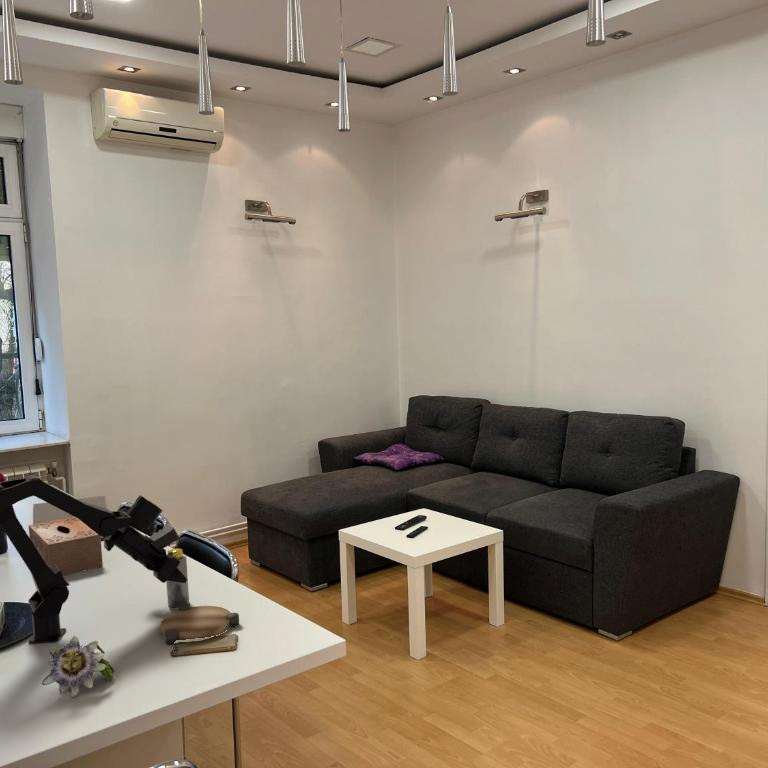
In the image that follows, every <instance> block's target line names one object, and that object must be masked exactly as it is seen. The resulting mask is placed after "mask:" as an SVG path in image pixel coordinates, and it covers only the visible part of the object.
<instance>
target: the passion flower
mask: <svg viewBox="0 0 768 768" xmlns="http://www.w3.org/2000/svg"><path fill="white" fill-rule="evenodd" d="M80 643H81V642H80V639H79V638H78V636H76V635H73V636H72V637H71V639H70V641H69V643H67V644H66V645H63V648H61V647H55V648H54V649H53V652H52V651H51V650H49V652H48V654H49V655H50V656H51V657H52V658H51V659H49V660H48V661H47V664H48V665H50V666H51V669H50V670H49V671H50V672H49V674H48V675H47V676H46V677H45V678H43V680H42V682H41V685H43V686H47V685H51V684H53V683H57V684H58V685H59V686H58V690H59V694H60V695H64V694H65V693H67V692H69V694H70V696H71V698H76V697H77V695H78V694H79V691H80V686H82V685H83V686H85V688H87V689H92V688H93V687H94V684H95V683H94V682H95V681H94V673H96V672H100V673H101V674H102V675H103V677H104V678H105V680H107V681H108V682H112V680H113V674H114V673H115V668H114V667H113V666H112V665H111V664H110V662H109V661H108V660H106V659H105V658H104V657H105V650H104V649H103V648H101V646H100V644H99V642H98V640H94V641H91V642H89V643H88V644H86V645H84V646H83V644H80ZM96 649H97V650H98V651H99V652H96V651H95V650H96Z"/></svg>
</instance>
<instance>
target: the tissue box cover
mask: <svg viewBox="0 0 768 768" xmlns="http://www.w3.org/2000/svg"><path fill="white" fill-rule="evenodd" d="M28 534H29V535H28V536H29V538H30V539H31V541H32V543H33V544H34V546H35V547H36V549H37V550H38V552H39V554H40V555H41V557H42V558H43V560H44V561H45V563H46V564H47V565H48V566H49V567H50V568H52V567H53V566H54V565H55V564H56V565H57V567H58V568H59V569H60V571H61V573H62V575H63V576H66V575H67V576H68V575H71V573H72V574H75V573H79V572H80V571H81V572H85V571H90V570H94V569H98V567H99V568H102V567H101V566H103V565H104V563H103V549H102V539H101V536H100V535H98V534H97V533H96V532H94V531H93V530H92V529H90V528H89V527H88V526H87V525H86V524H84V523H83V522H82V521H81V520H79V519H78V518H76V517H71V518H66V519H60V520H55V521H49V522H44V523H38V524H33V523H32V524H29V525H28ZM89 569H90V570H89ZM84 570H85V571H84ZM81 572H80V573H81Z"/></svg>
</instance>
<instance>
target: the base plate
mask: <svg viewBox="0 0 768 768" xmlns="http://www.w3.org/2000/svg"><path fill="white" fill-rule="evenodd" d="M238 625H239V626H240V614H239V613H238V612H231V611H229V610H228V609H227V608H225V607H222V606H215V605H200V606H198V605H197V606H191V605H190V604H189V605H188V604H184V605H180V606H178V609H177V610H176V611H174V612H172V613H170V614H168V615H167V616H165V617H164V618H163V619H162V620H161V623H160V631H161V636H162V637H163V638H164V639H165V644H166V645H168V646H173V644H174V642H175V641H176V640H186V639H195V638H205V637H211V636H216V635H219V634H221V633H223V632H225V631H226V630H228V629H229V628H230V627H234V628H236V627H235V626H237V627H239V626H238ZM230 629H231V628H230ZM230 629H229V630H230ZM229 630H228V631H229ZM226 632H227V631H226ZM226 632H225V633H226ZM223 634H224V633H223Z"/></svg>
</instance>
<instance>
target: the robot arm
mask: <svg viewBox="0 0 768 768" xmlns="http://www.w3.org/2000/svg"><path fill="white" fill-rule="evenodd" d="M30 497H35V498H38V499H39V500H42V501H44V503H49V504H51V505H53V506H55V507H57V508H59V509H61V510H63V511H65V512H67V513H69V514H70V515H72V516H74V517H76V518H78V519H79V520H81V521H82V522H83V523H84V524H86V525H87V526H88V527H89V528H90V529H92V530H93V531H94V532H96V533H97V534H98V535H100V536H102V537H105V538H102V539H103V547H104V549H105V550H106V551H107V552H111V550H112V549H113V548H114V547H116V548H118V549H119V550H121V551H122V552H123V553H125V554H127V555H128V556H129V557H130V558H132V559H133V560H134V561H135V562H138V563H139V564H140V565H142V566H143V567H144V568H145V569H147V570H148V571H151V572H153V573H152V574H153V576H154V577H155V579H157V580H158V581H159V582H161V583H163V584H165V583H166V581H173V582H180V583H186V581H187V578H186V577H185V576H184V575H183V574H182V573H181V571H180V570H179V569H178V568H177V567H178V565H179V564H180V561H179V560H178V559H176V558H175V557H174V556H172V555H171V554H168V553H167V550H166V549H165V548H167V547H168V546H170V545H171V544H173V543H174V542H177V541H179V539H180V536H179V534H178V532H177V530H176V529H175V527H174V526H172V525H171V524H167V523H166V524H164V525H162V524H161V523H159V522H158V523H157V524H155V525H154V526H153V533H152V535H151V536H150V537H149V536H148V535H146V534H143V533H141V532H139V530H141V531H143V530H145V531H147V530H149V529H150V528H151V527H152V525H153V524H154V523H155V522H156V520H157V519H158V518H159V516H161V514H162V513H163V512H164V511H163V509H162V508H160V507H159V506H158V505H156V504H155V503H153V502H151V500H148V499H147V498H145V497H144V496H142V495H139V496H137V498H136V500H135V501H134V503H132V505H131V506H130V508H128V510H127V511H126V512H125V510H113V511H112V510H110V509H108V508H107V507H106V508H107V509H106V508H103V507H99V506H96V505H92V504H88V503H85V502H82V501H80V500H78V499H79V498H77V497H75V496H72V495H71V494H69V493H67V492H66V491H64V490H61V489H60V488H58V487H55V486H53V485H51V484H50V483H48V482H46V481H44V480H43V479H41V478H40V477H39V476H37V475H29V476H25V477H22V478H17V479H16V478H15V479H10V480H5V481H4V480H3V481H0V527H1V528H2V530H3V531H4V533H5V534H6V536H7V538H8V540H9V541H10V542H11V544H12V545H13V546H14V548H15V550H16V552H17V554H18V555H19V557H20V558H21V559H22V561H23V563H24V565H26V567H27V569H28V570H29V571H30V575H31V578H32V581H33V583H34V585H35V589H36V591H35V592H34V593H33V594H32V595H31V596H30V598H29V599H28V601H27V602H28V604H29V605H30V608H31V610H32V612H31V619H32V621H31V622H32V630H33V631H32V632H33V635H32V636H31V637H30V639H29V640H28V641H27V642H28V644H40V643H41V644H42V643H56V642H58V641H59V640H60V638H62V637H63V635H64V634H65V633H66V631H67V628H66V627H64V628H61V620H60V619H61V618H60V614H61V610H62V608H63V607H62V606H63V605H64V604H65V603H66V602H67V600H68V598H69V595H70V590H69V588H68V587H69V586H70V583H69V582H68V581H67V579H66V578H65V575H62V573H61V571H60V569H59V568H58V567H57V565H56V564H55V565H54V566H53V567H52V568H50V567H49V566H48V565H47V564H46V563H45V561H44V560H43V558H42V557H41V555H40V554H39V552H38V550H37V549H36V547H35V546H34V544H33V543H32V541H31V539H30V537H29V535H28V533H27V531H26V530H25V528H24V527H23V525H22V524H21V522H20V521H19V518H18V517H17V515H16V511H15V509H14V506H13V505H14V504H16V503H18V502H20V501H23V500H25V499H28V498H30ZM132 525H134V526H135V527H136V528H138V529H139V530H137V529H136V528H134V527H133V526H132Z"/></svg>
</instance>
